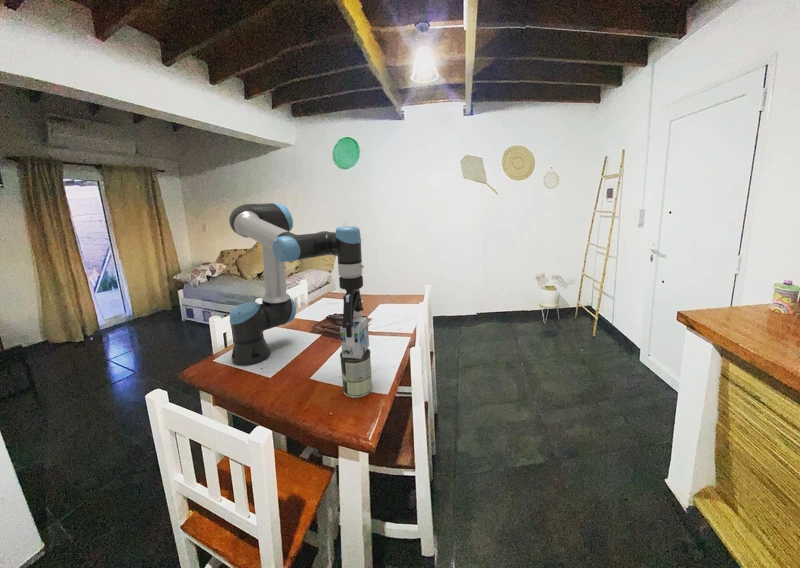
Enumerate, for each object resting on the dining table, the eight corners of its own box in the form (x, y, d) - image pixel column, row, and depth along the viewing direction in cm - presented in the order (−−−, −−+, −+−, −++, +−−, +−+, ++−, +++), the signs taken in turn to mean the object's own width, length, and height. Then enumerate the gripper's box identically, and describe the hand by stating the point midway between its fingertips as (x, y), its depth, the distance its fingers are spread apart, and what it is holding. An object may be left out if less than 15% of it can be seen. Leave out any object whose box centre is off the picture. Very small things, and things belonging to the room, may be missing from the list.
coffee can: (336, 392, 109) (333, 355, 105) (356, 378, 117) (354, 343, 114) (358, 401, 103) (356, 363, 100) (378, 386, 111) (376, 350, 108)
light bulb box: (361, 359, 102) (359, 328, 99) (341, 358, 103) (339, 327, 100) (369, 345, 112) (368, 316, 110) (351, 344, 113) (349, 316, 111)
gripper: (354, 285, 88) (358, 354, 94) (368, 267, 112) (371, 322, 118) (328, 285, 89) (334, 353, 94) (347, 267, 113) (351, 322, 118)
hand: (354, 336), depth 106 cm, fingers open, 13 cm apart
